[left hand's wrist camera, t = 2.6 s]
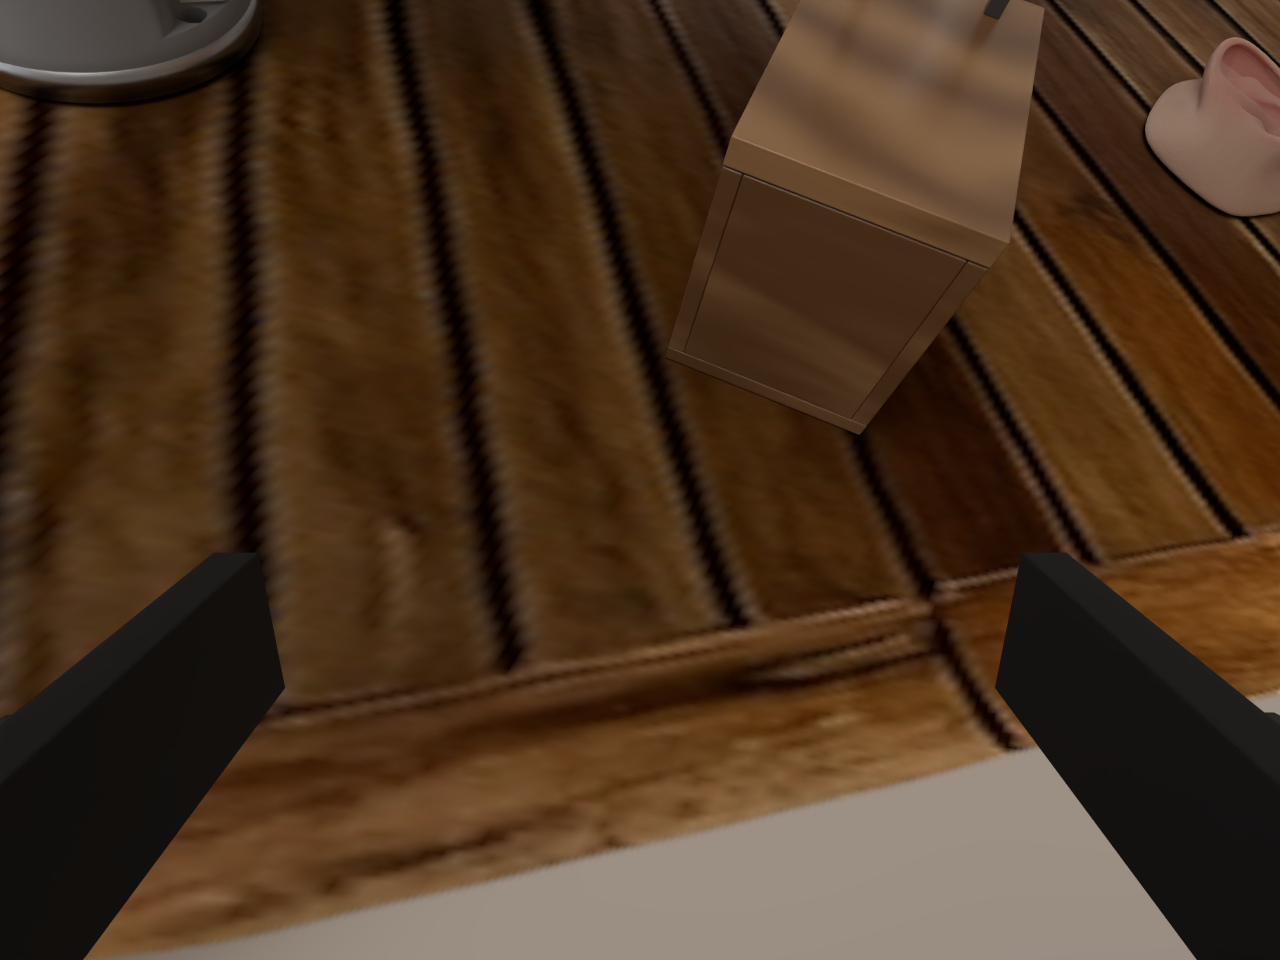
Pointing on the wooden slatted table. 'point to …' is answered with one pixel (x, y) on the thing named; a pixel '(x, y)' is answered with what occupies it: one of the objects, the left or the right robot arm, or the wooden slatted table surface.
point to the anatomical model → (1224, 130)
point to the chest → (812, 301)
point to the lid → (900, 115)
